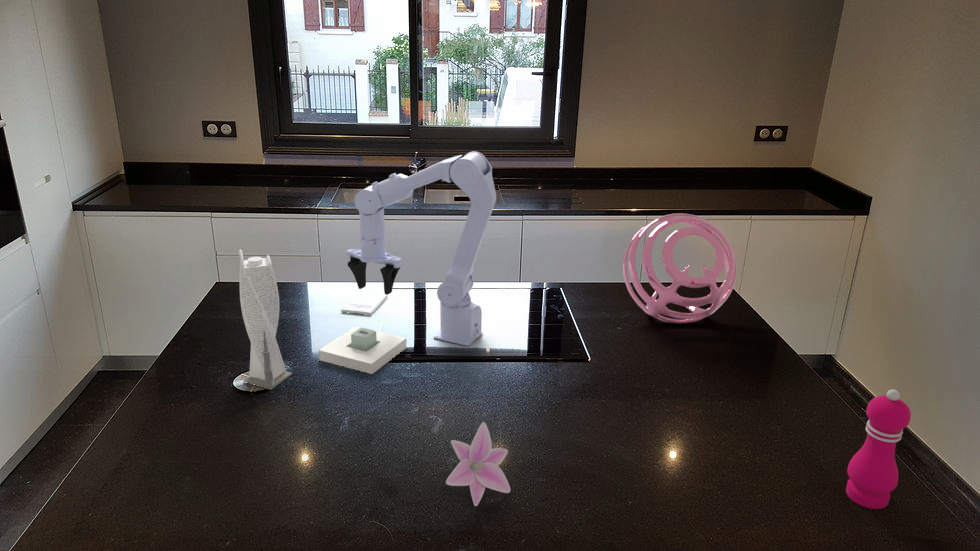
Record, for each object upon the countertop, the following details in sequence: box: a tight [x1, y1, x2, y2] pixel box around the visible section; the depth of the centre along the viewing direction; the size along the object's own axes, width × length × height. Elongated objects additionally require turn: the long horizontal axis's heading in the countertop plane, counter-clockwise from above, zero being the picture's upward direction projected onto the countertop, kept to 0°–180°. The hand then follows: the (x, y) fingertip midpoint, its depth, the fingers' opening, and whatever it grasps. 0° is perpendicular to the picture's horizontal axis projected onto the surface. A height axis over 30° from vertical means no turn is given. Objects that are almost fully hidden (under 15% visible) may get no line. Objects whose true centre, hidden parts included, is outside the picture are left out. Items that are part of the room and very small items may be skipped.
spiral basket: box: [622, 212, 738, 324], centre depth 176 cm, size 28×28×27 cm
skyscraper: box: [238, 249, 293, 391], centre depth 141 cm, size 8×8×28 cm
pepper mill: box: [845, 388, 912, 510], centre depth 109 cm, size 7×7×20 cm
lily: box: [445, 421, 512, 507], centre depth 112 cm, size 12×12×10 cm
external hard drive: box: [340, 291, 388, 316], centre depth 182 cm, size 2×8×12 cm
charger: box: [351, 327, 377, 352], centre depth 156 cm, size 4×4×5 cm
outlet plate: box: [318, 325, 408, 375], centre depth 156 cm, size 14×14×2 cm
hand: (375, 290), depth 167 cm, fingers open, 7 cm apart
